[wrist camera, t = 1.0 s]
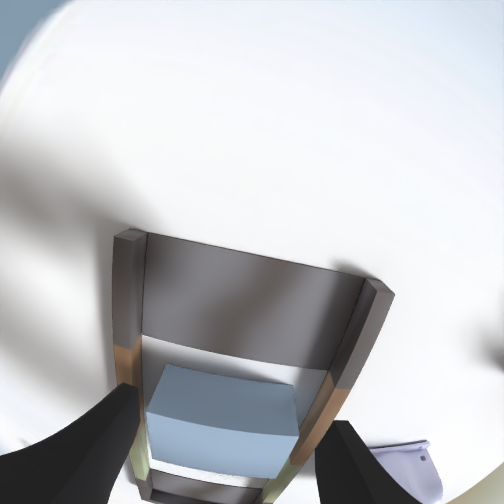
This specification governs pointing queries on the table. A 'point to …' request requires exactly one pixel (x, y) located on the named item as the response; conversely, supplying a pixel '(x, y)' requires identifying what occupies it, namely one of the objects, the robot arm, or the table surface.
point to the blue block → (222, 423)
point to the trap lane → (239, 335)
